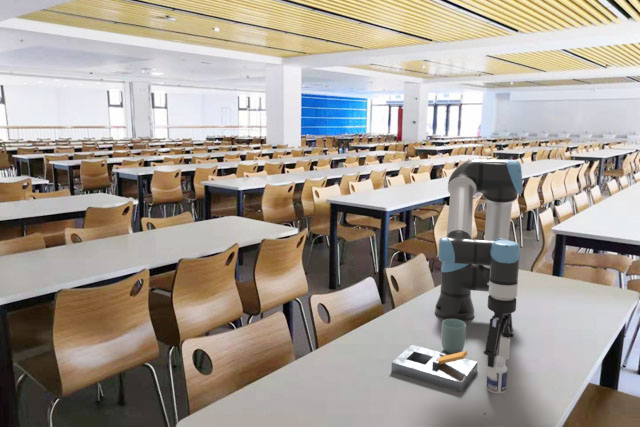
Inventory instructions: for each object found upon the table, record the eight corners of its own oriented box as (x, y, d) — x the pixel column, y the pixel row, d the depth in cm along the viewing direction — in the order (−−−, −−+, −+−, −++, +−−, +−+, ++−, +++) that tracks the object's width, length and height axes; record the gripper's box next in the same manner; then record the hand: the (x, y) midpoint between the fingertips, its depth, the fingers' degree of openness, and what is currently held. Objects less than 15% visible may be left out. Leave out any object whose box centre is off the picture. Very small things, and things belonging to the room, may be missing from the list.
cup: (448, 357, 169) (449, 329, 167) (436, 347, 176) (437, 320, 174) (469, 354, 171) (470, 326, 169) (456, 344, 178) (458, 317, 176)
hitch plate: (411, 353, 172) (411, 339, 171) (476, 370, 160) (477, 356, 159) (391, 371, 160) (391, 356, 159) (460, 392, 148) (461, 376, 147)
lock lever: (439, 360, 161) (438, 356, 161) (468, 354, 155) (466, 349, 155) (434, 366, 157) (432, 362, 157) (463, 360, 152) (461, 355, 152)
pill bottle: (501, 384, 152) (503, 353, 150) (508, 394, 147) (511, 362, 145) (483, 384, 152) (485, 354, 150) (490, 394, 146) (492, 362, 145)
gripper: (500, 282, 156) (496, 348, 160) (475, 306, 136) (470, 381, 139) (526, 286, 152) (521, 354, 156) (504, 312, 132) (499, 389, 135)
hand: (497, 367), depth 148 cm, fingers open, 13 cm apart
